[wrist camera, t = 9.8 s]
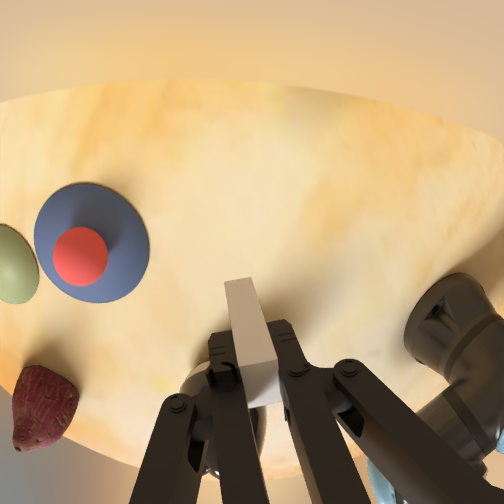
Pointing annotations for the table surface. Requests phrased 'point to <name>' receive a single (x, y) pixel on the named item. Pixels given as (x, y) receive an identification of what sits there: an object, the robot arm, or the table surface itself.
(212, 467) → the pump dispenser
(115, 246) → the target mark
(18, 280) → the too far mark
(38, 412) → the vegetable
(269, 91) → the table surface
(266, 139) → the table surface
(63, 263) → the ball
